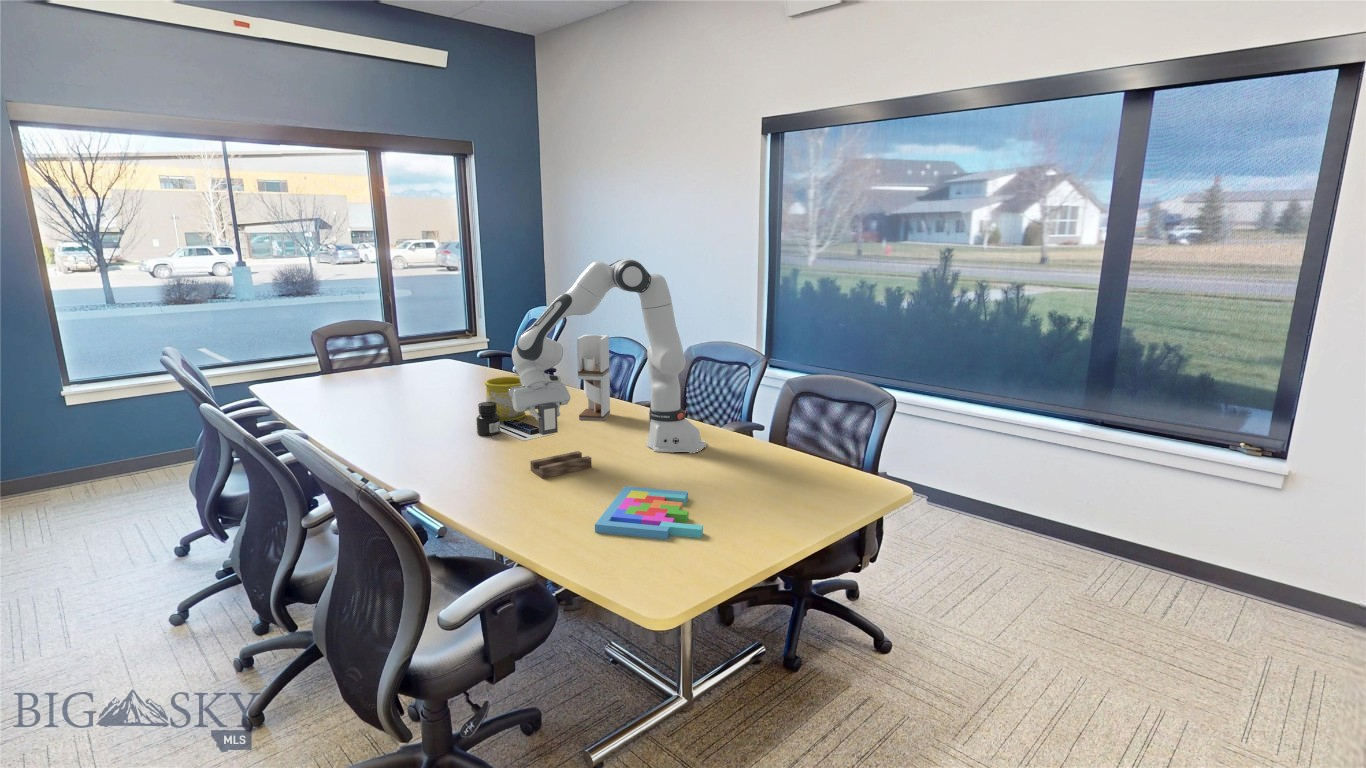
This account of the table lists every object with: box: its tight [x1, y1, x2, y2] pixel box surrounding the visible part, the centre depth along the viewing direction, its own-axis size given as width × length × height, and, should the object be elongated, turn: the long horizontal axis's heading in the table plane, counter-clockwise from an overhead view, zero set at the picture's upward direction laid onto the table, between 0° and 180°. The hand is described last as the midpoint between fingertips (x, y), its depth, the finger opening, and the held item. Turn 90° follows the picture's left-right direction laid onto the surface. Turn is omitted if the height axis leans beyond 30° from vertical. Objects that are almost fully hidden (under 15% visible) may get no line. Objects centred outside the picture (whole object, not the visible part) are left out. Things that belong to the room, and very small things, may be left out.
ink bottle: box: [476, 401, 501, 437], centre depth 260 cm, size 10×9×12 cm
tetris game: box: [594, 486, 704, 540], centre depth 185 cm, size 28×3×28 cm
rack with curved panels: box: [576, 334, 611, 422], centre depth 282 cm, size 11×11×35 cm
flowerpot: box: [484, 376, 527, 423], centre depth 282 cm, size 18×18×16 cm
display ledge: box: [529, 450, 593, 480], centre depth 221 cm, size 18×9×4 cm, turn 127°
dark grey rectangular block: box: [537, 403, 558, 436], centre depth 225 cm, size 3×6×10 cm, turn 127°
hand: (548, 417), depth 225 cm, fingers closed on dark grey rectangular block, 5 cm apart
